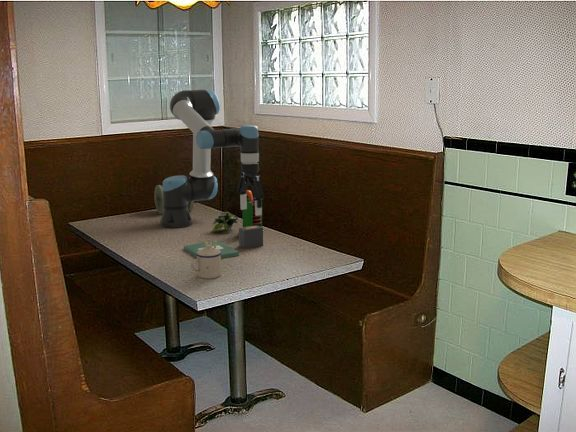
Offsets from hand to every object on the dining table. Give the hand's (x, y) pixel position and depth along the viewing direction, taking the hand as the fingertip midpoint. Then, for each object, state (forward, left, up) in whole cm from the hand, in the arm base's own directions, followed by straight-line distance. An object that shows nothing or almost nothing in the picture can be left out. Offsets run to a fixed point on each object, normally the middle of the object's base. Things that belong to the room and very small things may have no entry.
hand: (251, 212), depth 273 cm
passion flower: (-27, +1, -15) cm, 31 cm away
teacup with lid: (+27, -33, -15) cm, 45 cm away
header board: (0, -19, -15) cm, 24 cm away
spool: (-78, -5, -15) cm, 80 cm away
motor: (-18, +10, -15) cm, 26 cm away
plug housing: (0, 0, -15) cm, 15 cm away
